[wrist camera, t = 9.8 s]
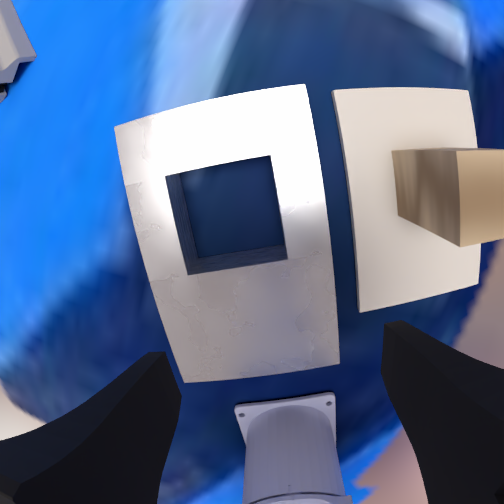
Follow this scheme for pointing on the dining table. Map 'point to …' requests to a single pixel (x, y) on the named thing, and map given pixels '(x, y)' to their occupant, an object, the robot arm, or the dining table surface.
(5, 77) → the hinge
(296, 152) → the white frame
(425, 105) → the pad
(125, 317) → the dining table surface
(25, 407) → the dining table surface
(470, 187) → the peg
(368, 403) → the dining table surface
